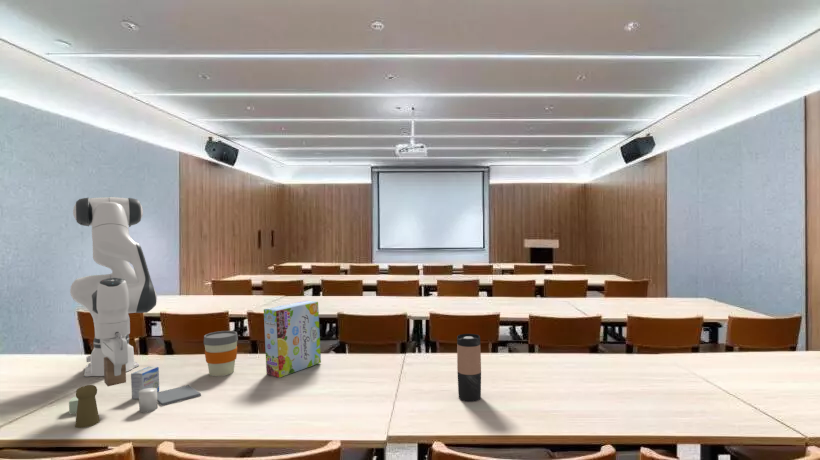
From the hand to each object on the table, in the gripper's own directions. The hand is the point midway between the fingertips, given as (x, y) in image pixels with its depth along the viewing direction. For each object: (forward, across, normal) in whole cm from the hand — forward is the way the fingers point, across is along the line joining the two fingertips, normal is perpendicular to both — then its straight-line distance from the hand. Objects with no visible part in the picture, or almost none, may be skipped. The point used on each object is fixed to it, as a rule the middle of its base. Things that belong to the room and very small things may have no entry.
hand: (114, 372), depth 150 cm
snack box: (+12, -7, -60) cm, 61 cm away
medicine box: (+12, +5, -10) cm, 16 cm away
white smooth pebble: (+11, -10, -7) cm, 16 cm away
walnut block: (+3, 0, 0) cm, 3 cm away
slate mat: (+11, -4, -17) cm, 21 cm away
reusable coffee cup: (+12, +10, -38) cm, 41 cm away
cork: (+11, -9, +9) cm, 17 cm away
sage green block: (+12, +5, +8) cm, 15 cm away
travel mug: (+9, -77, -84) cm, 114 cm away
